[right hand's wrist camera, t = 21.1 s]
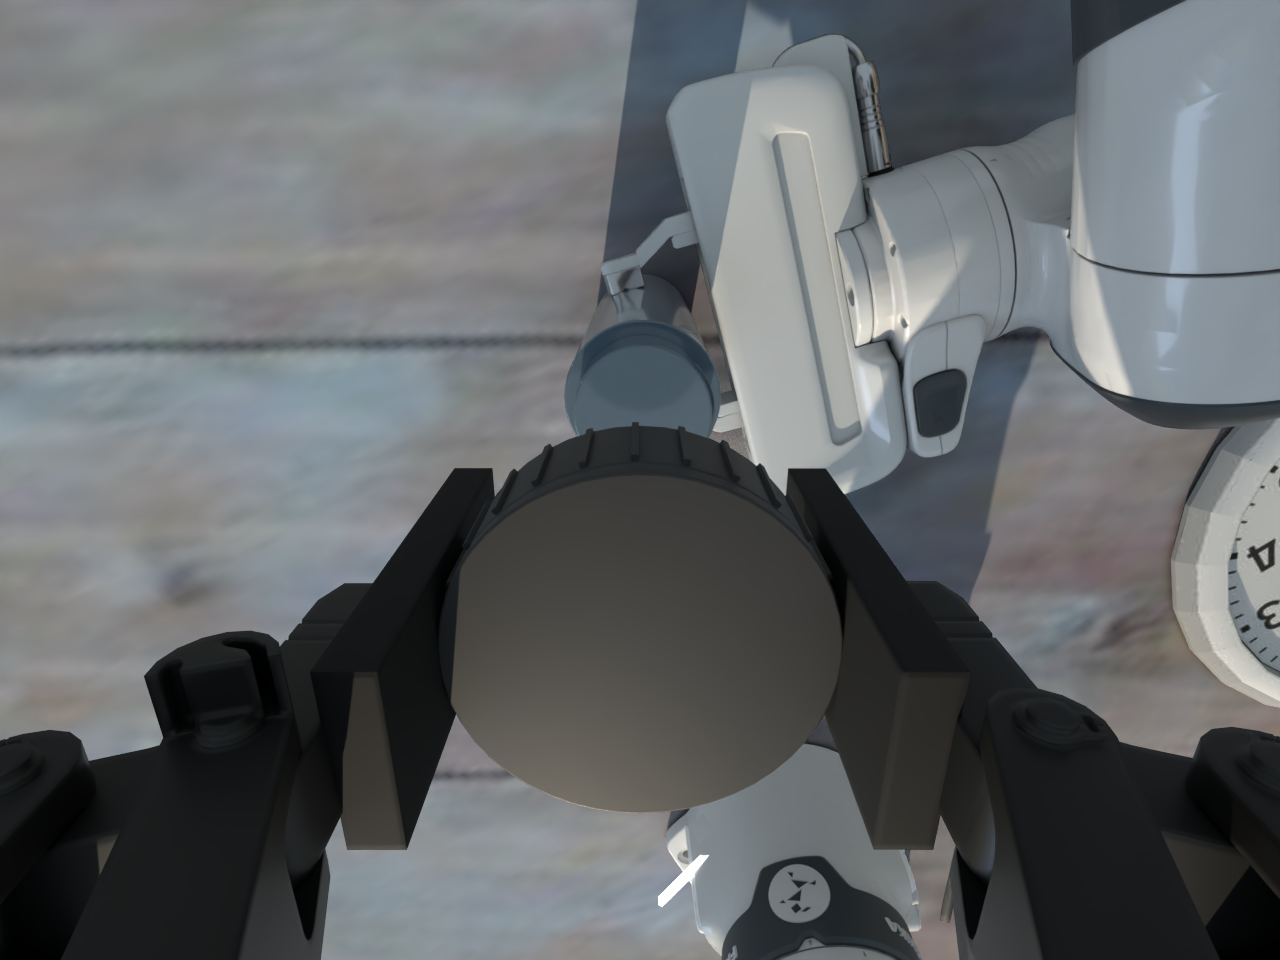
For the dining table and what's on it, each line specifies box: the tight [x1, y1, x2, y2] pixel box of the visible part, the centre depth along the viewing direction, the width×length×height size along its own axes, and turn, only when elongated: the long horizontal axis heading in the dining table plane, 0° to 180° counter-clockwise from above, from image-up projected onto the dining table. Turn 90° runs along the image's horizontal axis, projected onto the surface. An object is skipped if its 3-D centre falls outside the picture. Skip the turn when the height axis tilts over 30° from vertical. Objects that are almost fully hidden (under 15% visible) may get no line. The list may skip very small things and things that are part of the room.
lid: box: [437, 422, 843, 813], centre depth 11 cm, size 6×6×2 cm
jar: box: [565, 274, 721, 438], centre depth 31 cm, size 6×5×19 cm
